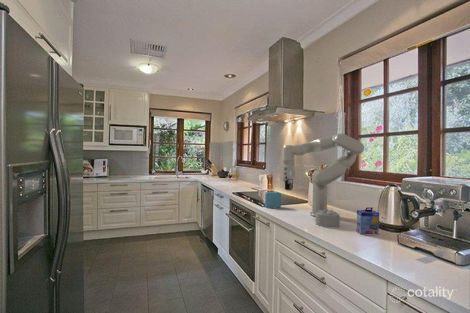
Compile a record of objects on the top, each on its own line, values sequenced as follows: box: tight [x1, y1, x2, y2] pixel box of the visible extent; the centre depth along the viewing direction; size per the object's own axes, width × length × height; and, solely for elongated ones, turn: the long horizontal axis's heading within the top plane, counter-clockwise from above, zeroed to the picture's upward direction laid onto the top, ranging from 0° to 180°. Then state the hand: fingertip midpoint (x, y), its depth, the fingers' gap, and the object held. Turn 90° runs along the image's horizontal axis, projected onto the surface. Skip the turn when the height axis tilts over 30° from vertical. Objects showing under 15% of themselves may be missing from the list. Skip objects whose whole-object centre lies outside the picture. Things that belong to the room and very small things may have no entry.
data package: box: [264, 191, 282, 209], centre depth 189 cm, size 12×4×12 cm, turn 94°
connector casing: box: [285, 180, 293, 191], centre depth 167 cm, size 4×4×7 cm
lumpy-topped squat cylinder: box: [315, 209, 341, 228], centre depth 144 cm, size 10×13×9 cm
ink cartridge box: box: [355, 206, 380, 235], centre depth 129 cm, size 10×6×14 cm, turn 91°
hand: (288, 188), depth 167 cm, fingers closed on connector casing, 4 cm apart
